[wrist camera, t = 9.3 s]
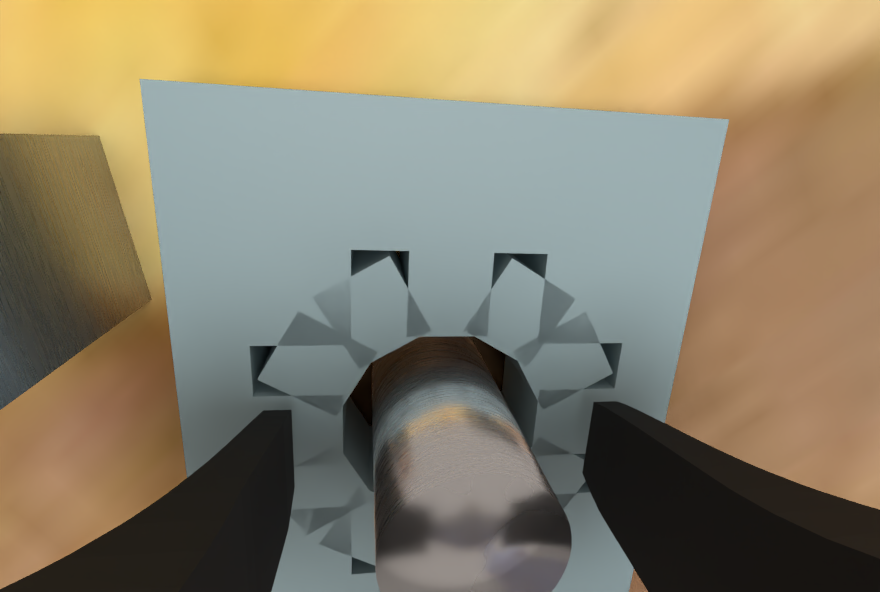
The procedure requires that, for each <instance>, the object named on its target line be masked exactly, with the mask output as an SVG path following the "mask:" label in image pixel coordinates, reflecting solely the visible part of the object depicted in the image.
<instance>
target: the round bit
mask: <svg viewBox="0 0 880 592" xmlns="http://www.w3.org/2000/svg"><path fill="white" fill-rule="evenodd" d="M372 424H373V475H374V526H375V572H376V579H377V583H378V586H379V589H380V592H551V591H552V590H553V589H554V588H555V587H556V585H557V584H558V582H559V581H560V579H561V577H562V575H563V573H564V571H565V569H566V567H567V564H568V561H569V558H570V553H571V547H572V535H571V528H570V524H569V521H568V518H567V516H566V514H565V512H564V510H563V508H562V506H561V504H560V502H559V501H558V499H557V497H556V495H555V493H554V491H553V489H552V488H551V486H550V484H549V482H548V480H547V478H546V476H545V474H544V473H543V471H542V469H541V467H540V465H539V463H538V461H537V460H536V458H535V456H534V454H533V452H532V450H531V448H530V446H529V445H528V443H527V441H526V439H525V437H524V435H523V433H522V431H521V430H520V428H519V426H518V424H517V422H516V420H515V418H514V417H513V415H512V413H511V411H510V409H509V407H508V405H507V403H506V402H505V400H504V398H503V396H502V394H501V392H500V390H499V389H498V387H497V385H496V383H495V381H494V379H493V377H492V375H491V374H490V372H489V370H488V368H487V366H486V364H485V362H484V360H483V359H482V357H481V355H480V353H479V351H478V349H477V347H476V346H475V344H474V343H473V341H472V340H471V339H470V338H469V337H468V336H442V337H418V338H416V339H414V340H413V341H411V342H409V343H407V344H405V345H403V346H401V347H399V348H398V349H396V350H394V351H392V352H390V353H388V354H386V355H384V356H383V357H381V358H379V359H377V360H375V361H374V362H373V366H372Z"/></svg>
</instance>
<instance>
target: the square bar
mask: <svg viewBox="0 0 880 592" xmlns="http://www.w3.org/2000/svg"><path fill="white" fill-rule="evenodd" d="M150 300H151V297H150V294H149V290H148V287H147V284H146V281H145V278H144V275H143V272H142V269H141V265H140V262H139V259H138V256H137V253H136V250H135V247H134V244H133V240H132V237H131V234H130V231H129V228H128V225H127V222H126V219H125V215H124V212H123V209H122V206H121V203H120V200H119V197H118V194H117V191H116V187H115V184H114V181H113V178H112V175H111V172H110V169H109V166H108V162H107V159H106V156H105V153H104V150H103V147H102V144H101V141H100V137H99V136H76V135H33V134H0V410H1V409H2V408H3V407H5V406H6V405H8V404H9V403H10V402H12V401H13V400H14V399H16V398H17V397H19V396H20V395H21V394H23V393H24V392H25V391H27V390H28V389H29V388H31V387H32V386H34V385H35V384H36V383H38V382H39V381H40V380H42V379H43V378H45V377H46V376H47V375H49V374H50V373H51V372H53V371H54V370H55V369H57V368H58V367H60V366H61V365H62V364H64V363H65V362H66V361H68V360H69V359H71V358H72V357H73V356H75V355H76V354H77V353H79V352H80V351H81V350H83V349H84V348H86V347H87V346H88V345H90V344H91V343H92V342H94V341H95V340H97V339H98V338H99V337H101V336H102V335H103V334H105V333H106V332H108V331H109V330H110V329H112V328H113V327H114V326H116V325H117V324H118V323H120V322H121V321H123V320H124V319H125V318H127V317H128V316H129V315H131V314H132V313H134V312H135V311H136V310H138V309H139V308H140V307H142V306H143V305H144V304H146V303H147V302H149V301H150Z"/></svg>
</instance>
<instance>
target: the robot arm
mask: <svg viewBox="0 0 880 592" xmlns="http://www.w3.org/2000/svg"><path fill="white" fill-rule="evenodd" d="M582 473H583V476H584V478H585V481H586V483H587V485H588V488H589V490H590V493H591V495H592V497H593V499H594V501H595V503H596V506H597V508H598V510H599V512H600V513H601V515H602V517H603V519H604V520H605V522H606V524H607V525H608V527H609V528H610V530H611V532H612V533H613V535H614V537H615V538H616V540H617V542H618V543H619V545H620V547H621V548H622V550H623V551H624V553H625V555H626V556H627V558H628V559H629V561H630V563H631V564H632V566H633V568H634V569H635V571H636V572H637V574H638V576H639V577H640V579H641V580H642V582H643V584H644V585H645V587H646V589H647V590H648V592H880V510H879V509H875V508H872V507H868V506H865V505H862V504H858V503H855V502H852V501H849V500H846V499H843V498H840V497H837V496H833V495H830V494H827V493H824V492H821V491H818V490H815V489H812V488H810V487H807V486H804V485H801V484H798V483H796V482H793V481H791V480H788V479H786V478H783V477H780V476H778V475H775V474H773V473H770V472H767V471H765V470H762V469H760V468H758V467H755V466H753V465H751V464H748V463H746V462H744V461H742V460H739V459H737V458H735V457H733V456H731V455H728V454H726V453H724V452H722V451H720V450H717V449H715V448H713V447H711V446H709V445H707V444H705V443H703V442H701V441H699V440H697V439H695V438H693V437H691V436H689V435H687V434H685V433H683V432H681V431H679V430H677V429H675V428H673V427H671V426H669V425H667V424H665V423H663V422H661V421H659V420H657V419H655V418H653V417H651V416H649V415H647V414H645V413H643V412H641V411H639V410H637V409H635V408H633V407H630V406H628V405H626V404H623V403H620V402H618V401H608V402H594V403H593V409H592V415H591V421H590V428H589V434H588V440H587V446H586V453H585V459H584V465H583V471H582ZM294 488H295V482H294V458H293V434H292V410H263V411H262V412H261V413H260V414H259V415H258V416H257V417H256V418H254V419H253V420H252V421H251V422H250V423H249V424H248V425H247V426H246V427H245V428H244V429H243V430H242V431H241V432H239V433H238V434H237V435H236V436H235V437H234V438H233V439H232V440H231V441H230V442H229V443H228V444H227V445H226V446H224V447H223V448H222V449H221V450H220V451H219V452H218V453H217V454H215V455H214V456H213V457H212V458H211V459H210V460H209V461H207V462H206V463H205V464H204V465H203V466H201V467H200V468H199V469H198V470H196V471H195V472H194V473H193V474H191V475H190V476H189V477H188V478H186V479H185V480H184V481H183V482H182V483H180V484H179V485H178V486H177V487H175V488H174V489H173V490H171V491H170V492H169V493H167V494H166V495H164V496H163V497H162V498H160V499H159V500H157V501H156V502H155V503H153V504H152V505H150V506H149V507H147V508H146V509H144V510H143V511H141V512H140V513H138V514H137V515H135V516H134V517H132V518H131V519H129V520H127V521H126V522H124V523H123V524H121V525H120V526H118V527H116V528H114V529H113V530H111V531H109V532H107V533H106V534H104V535H102V536H101V537H99V538H97V539H95V540H94V541H92V542H90V543H89V544H87V545H85V546H83V547H82V548H80V549H78V550H76V551H75V552H73V553H71V554H70V555H68V556H66V557H64V558H62V559H60V560H58V561H56V562H54V563H52V564H51V565H49V566H47V567H45V568H43V569H41V570H39V571H37V572H35V573H33V574H31V575H29V576H27V577H25V578H23V579H21V580H19V581H17V582H15V583H13V584H10V585H8V586H6V587H4V588H2V589H0V592H271V591H272V587H273V584H274V580H275V577H276V573H277V569H278V566H279V562H280V559H281V555H282V551H283V547H284V544H285V540H286V536H287V533H288V529H289V522H290V516H291V509H292V502H293V495H294Z"/></svg>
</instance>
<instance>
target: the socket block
mask: <svg viewBox="0 0 880 592" xmlns="http://www.w3.org/2000/svg"><path fill="white" fill-rule="evenodd" d="M140 85H141V94H142V102H143V111H144V119H145V128H146V136H147V144H148V153H149V161H150V170H151V178H152V186H153V195H154V203H155V212H156V220H157V229H158V237H159V245H160V254H161V262H162V271H163V279H164V287H165V296H166V304H167V313H168V321H169V329H170V338H171V346H172V355H173V363H174V372H175V380H176V388H177V397H178V405H179V414H180V422H181V430H182V439H183V447H184V456H185V464H186V473H187V478H188V477H189V476H190V475H191V474H193V473H194V472H195V471H196V470H198V469H199V468H200V467H201V466H203V465H204V464H205V463H206V462H207V461H209V460H210V459H211V458H212V457H213V456H214V455H215V454H217V453H218V452H219V451H220V450H221V449H222V448H223V447H224V446H226V445H227V444H228V443H229V442H230V441H231V440H232V439H233V438H234V437H235V436H236V435H237V434H238V433H239V432H241V431H242V430H243V429H244V428H245V427H246V426H247V425H248V424H249V423H250V422H251V421H252V420H253V419H254V418H256V417H257V416H258V415H259V414H260V413H261V412H262V411H263V410H292V434H293V458H294V482H295V488H294V495H293V502H292V509H291V516H290V522H289V529H288V533H287V536H286V540H285V544H284V547H283V551H282V555H281V559H280V562H279V566H278V569H277V573H276V577H275V580H274V584H273V587H272V591H271V592H380V589H379V586H378V583H377V579H376V572H375V526H374V475H373V427H372V426H370V425H368V423H367V422H366V420H365V419H364V417H363V416H362V414H361V413H360V411H359V410H358V408H357V407H356V405H355V404H354V402H353V401H352V399H351V398H350V394H351V393H352V391H353V390H354V388H355V386H356V385H357V383H358V382H359V380H360V379H361V377H362V376H363V374H364V372H365V371H366V369H367V368H368V366H369V365H370V363H371V362H373V361H375V360H377V359H379V358H381V357H383V356H384V355H386V354H388V353H390V352H392V351H394V350H396V349H398V348H399V347H401V346H403V345H405V344H407V343H409V342H411V341H413V340H414V339H416V338H418V337H442V336H475V337H476V338H478V339H480V340H482V341H483V342H485V343H487V344H489V345H491V346H492V347H494V348H496V349H498V350H499V351H501V352H503V353H505V354H506V355H505V365H504V375H503V385H502V391H501V394H502V396H503V398H504V400H505V402H506V403H507V405H508V407H509V409H510V411H511V413H512V415H513V417H514V418H515V420H516V422H517V424H518V426H519V428H520V430H521V431H522V433H523V435H524V437H525V439H526V441H527V443H528V445H529V446H530V448H531V450H532V452H533V454H534V456H535V458H536V460H537V461H538V463H539V465H540V467H541V469H542V471H543V473H544V474H545V476H546V478H547V480H548V482H549V484H550V486H551V488H552V489H553V491H554V493H555V495H556V497H557V499H558V501H559V502H560V504H561V506H562V508H563V510H564V512H565V514H566V516H567V518H568V521H569V524H570V528H571V535H572V547H571V553H570V558H569V561H568V564H567V567H566V569H565V571H564V573H563V575H562V577H561V579H560V581H559V582H558V584H557V585H556V587H555V588H554V589H553V590H552V591H551V592H629V588H630V584H631V579H632V574H633V569H634V568H633V566H632V564H631V563H630V561H629V559H628V558H627V556H626V555H625V553H624V551H623V550H622V548H621V547H620V545H619V543H618V542H617V540H616V538H615V537H614V535H613V533H612V532H611V530H610V528H609V527H608V525H607V524H606V522H605V520H604V519H603V517H602V515H601V513H600V512H599V510H598V508H597V506H596V503H595V501H594V499H593V497H592V495H591V493H590V490H589V488H588V485H587V483H586V481H585V478H584V476H583V473H582V471H583V465H584V459H585V453H586V446H587V440H588V434H589V428H590V421H591V415H592V409H593V403H594V402H608V401H618V402H620V403H623V404H626V405H628V406H630V407H633V408H635V409H637V410H639V411H641V412H643V413H645V414H647V415H649V416H651V417H653V418H655V419H657V420H659V421H661V422H663V423H665V419H666V414H667V409H668V405H669V400H670V395H671V390H672V386H673V381H674V376H675V372H676V367H677V362H678V357H679V353H680V348H681V343H682V339H683V334H684V329H685V324H686V320H687V315H688V310H689V306H690V301H691V296H692V291H693V287H694V282H695V277H696V273H697V268H698V263H699V259H700V254H701V249H702V244H703V240H704V235H705V230H706V226H707V221H708V216H709V211H710V207H711V202H712V197H713V193H714V188H715V183H716V178H717V174H718V169H719V164H720V160H721V155H722V150H723V145H724V141H725V136H726V131H727V127H728V122H729V120H728V119H714V118H699V117H685V116H670V115H656V114H641V113H627V112H612V111H598V110H583V109H569V108H554V107H539V106H525V105H510V104H496V103H481V102H467V101H452V100H438V99H423V98H409V97H394V96H380V95H365V94H351V93H336V92H321V91H307V90H292V89H278V88H263V87H249V86H234V85H220V84H205V83H191V82H176V81H162V80H147V79H140ZM396 251H400V258H399V257H398V255H397V253H396Z"/></svg>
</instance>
